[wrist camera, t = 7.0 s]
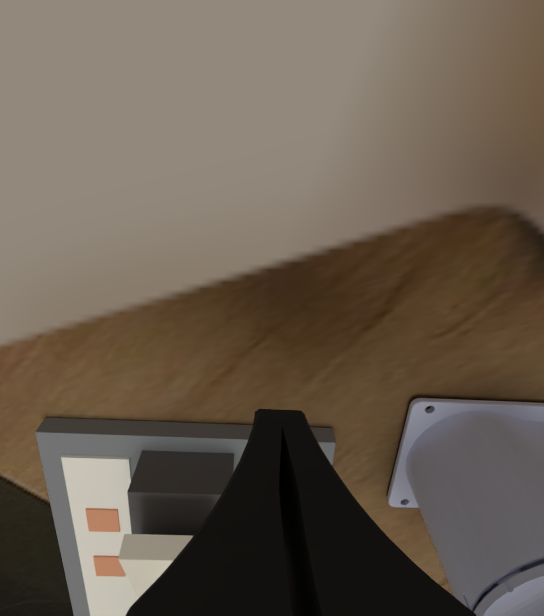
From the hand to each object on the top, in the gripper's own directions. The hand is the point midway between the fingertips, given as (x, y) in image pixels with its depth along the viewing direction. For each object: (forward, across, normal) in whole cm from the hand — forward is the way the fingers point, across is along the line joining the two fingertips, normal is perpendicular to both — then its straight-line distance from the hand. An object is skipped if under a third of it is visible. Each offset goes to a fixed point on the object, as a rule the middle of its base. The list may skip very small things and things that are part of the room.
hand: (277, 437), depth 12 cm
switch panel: (+9, +4, +20) cm, 22 cm away
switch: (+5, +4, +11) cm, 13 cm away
